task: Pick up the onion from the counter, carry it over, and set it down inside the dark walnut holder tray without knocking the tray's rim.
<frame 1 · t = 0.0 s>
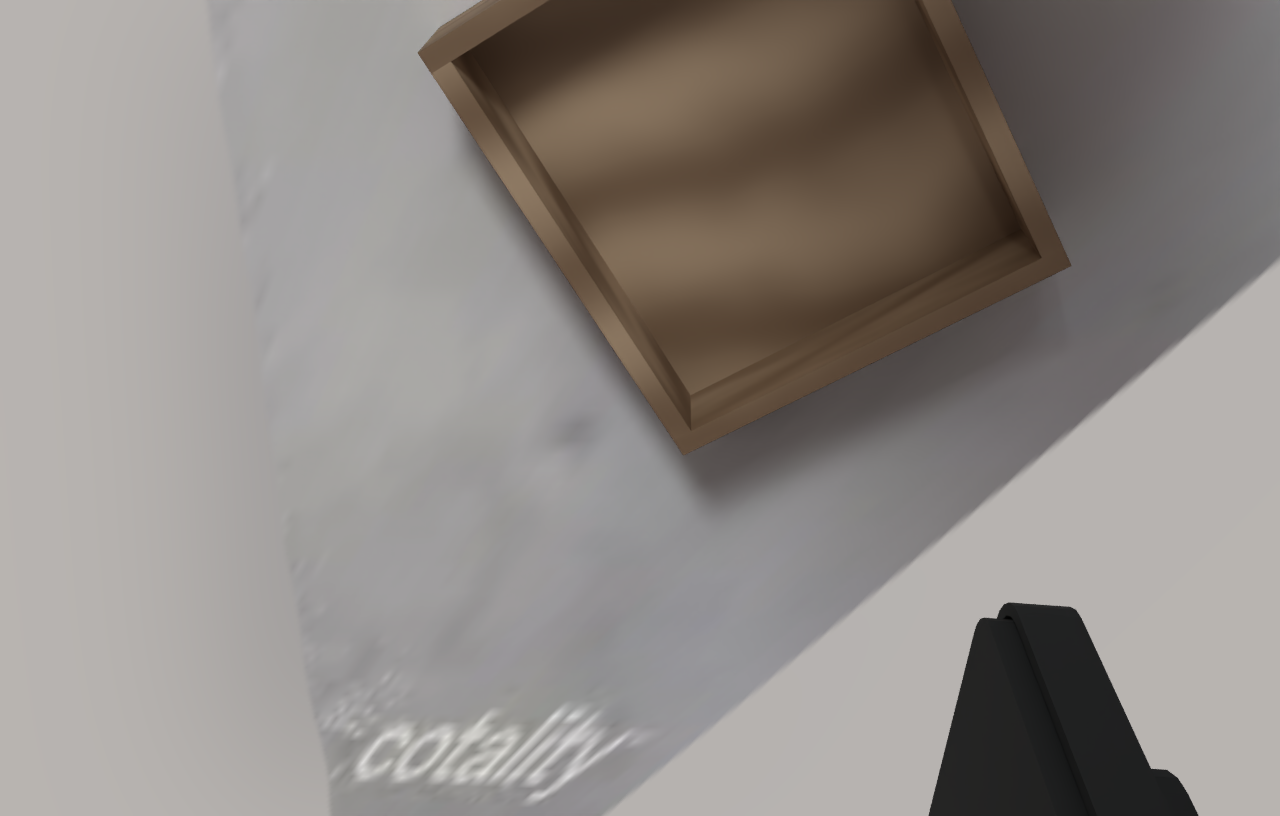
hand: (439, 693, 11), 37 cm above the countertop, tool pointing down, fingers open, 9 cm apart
holder tray: (749, 129, 46), on the countertop
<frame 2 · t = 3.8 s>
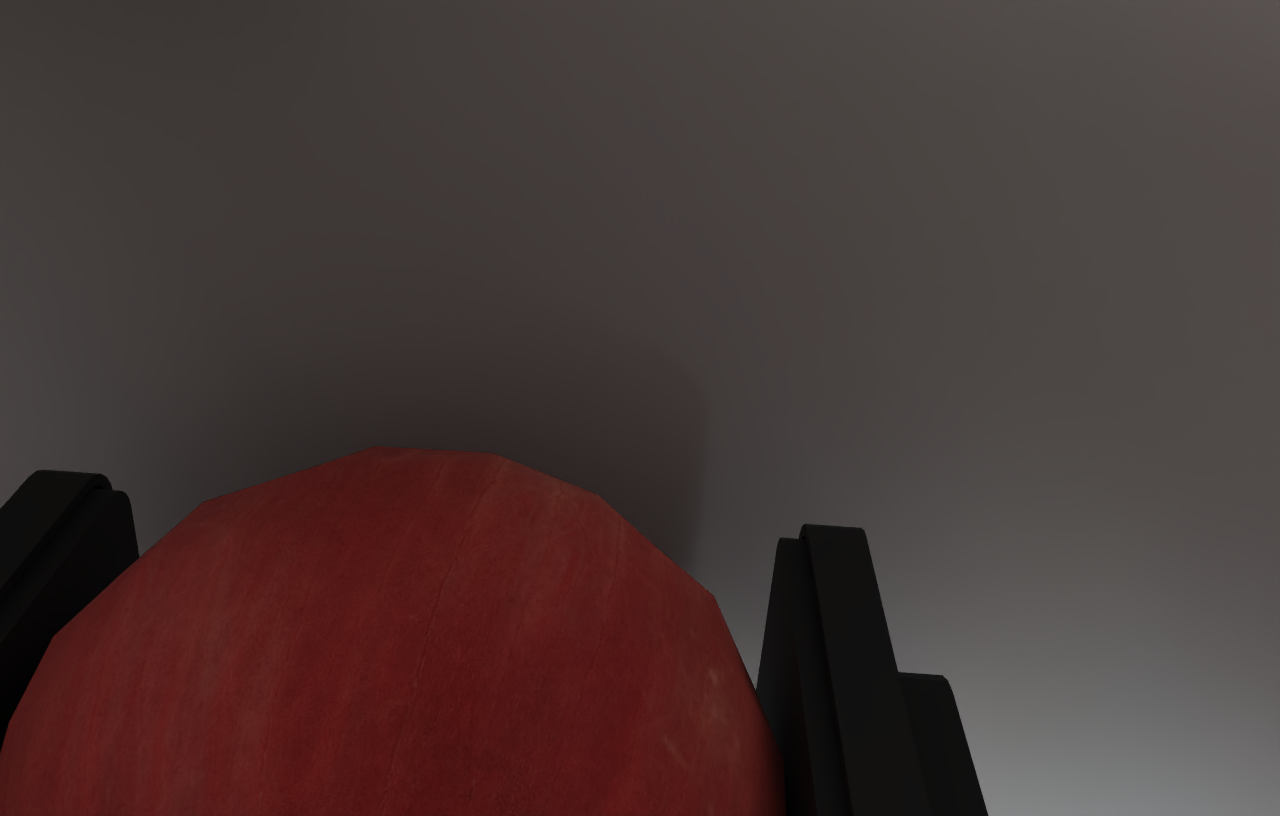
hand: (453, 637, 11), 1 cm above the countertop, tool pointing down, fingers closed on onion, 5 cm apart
onion: (480, 541, 13), on the countertop, touching gripper
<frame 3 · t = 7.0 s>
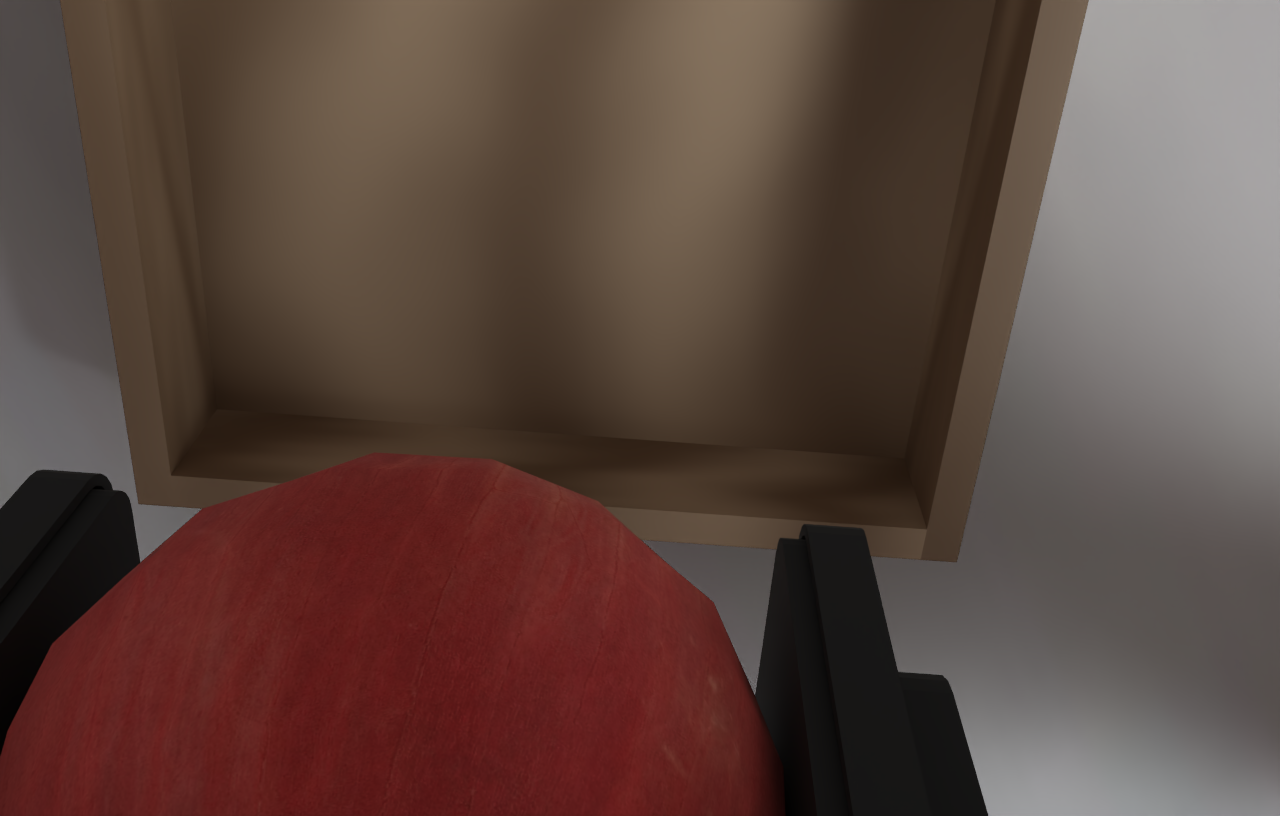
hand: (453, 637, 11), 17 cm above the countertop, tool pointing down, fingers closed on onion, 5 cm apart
holder tray: (577, 121, 27), on the countertop
onion: (479, 546, 13), point 16 cm above the countertop, touching gripper
when the fingers open (4 cm above the countertop, at t = 10.3 s): onion drops 1 cm, resting on holder tray.
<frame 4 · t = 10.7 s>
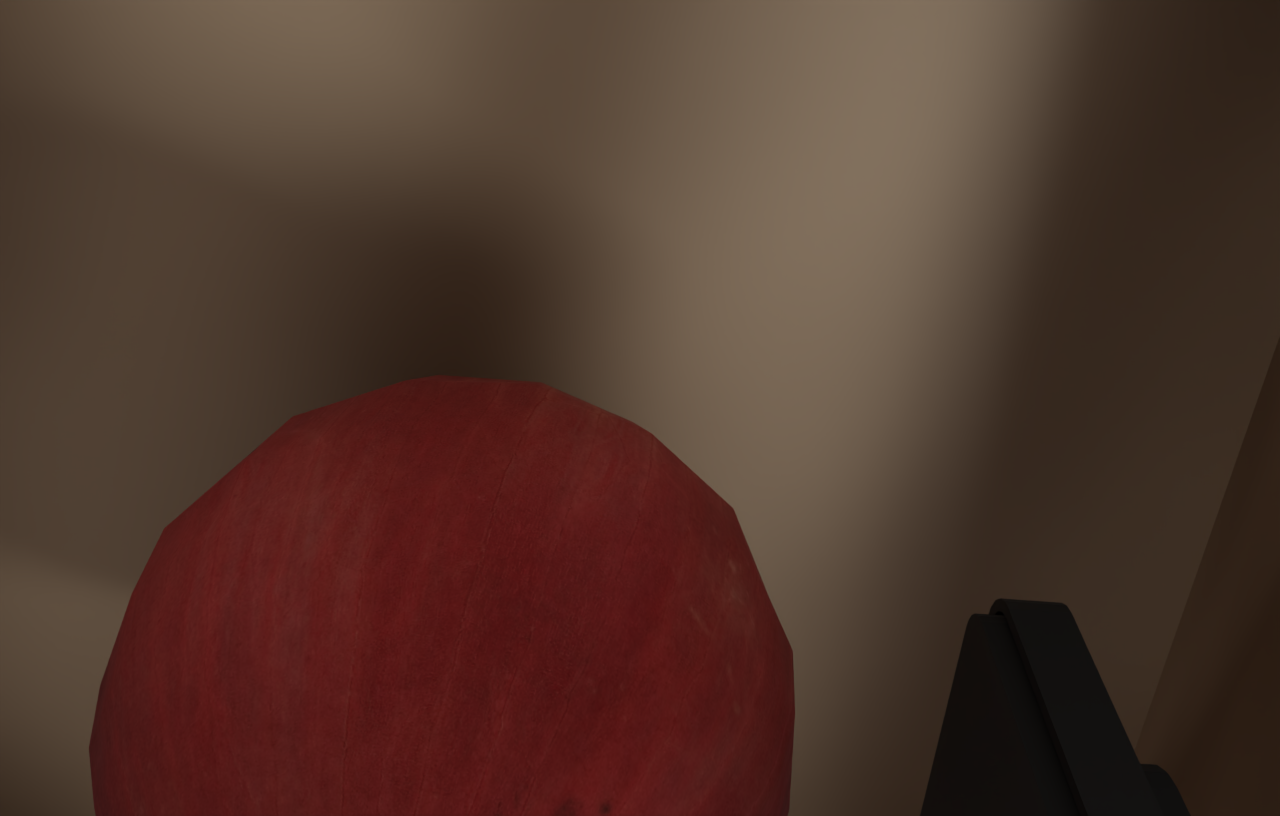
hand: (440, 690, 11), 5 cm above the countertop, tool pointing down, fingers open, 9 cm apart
holder tray: (507, 425, 15), on the countertop
onion: (521, 480, 14), point 1 cm above the countertop, touching holder tray
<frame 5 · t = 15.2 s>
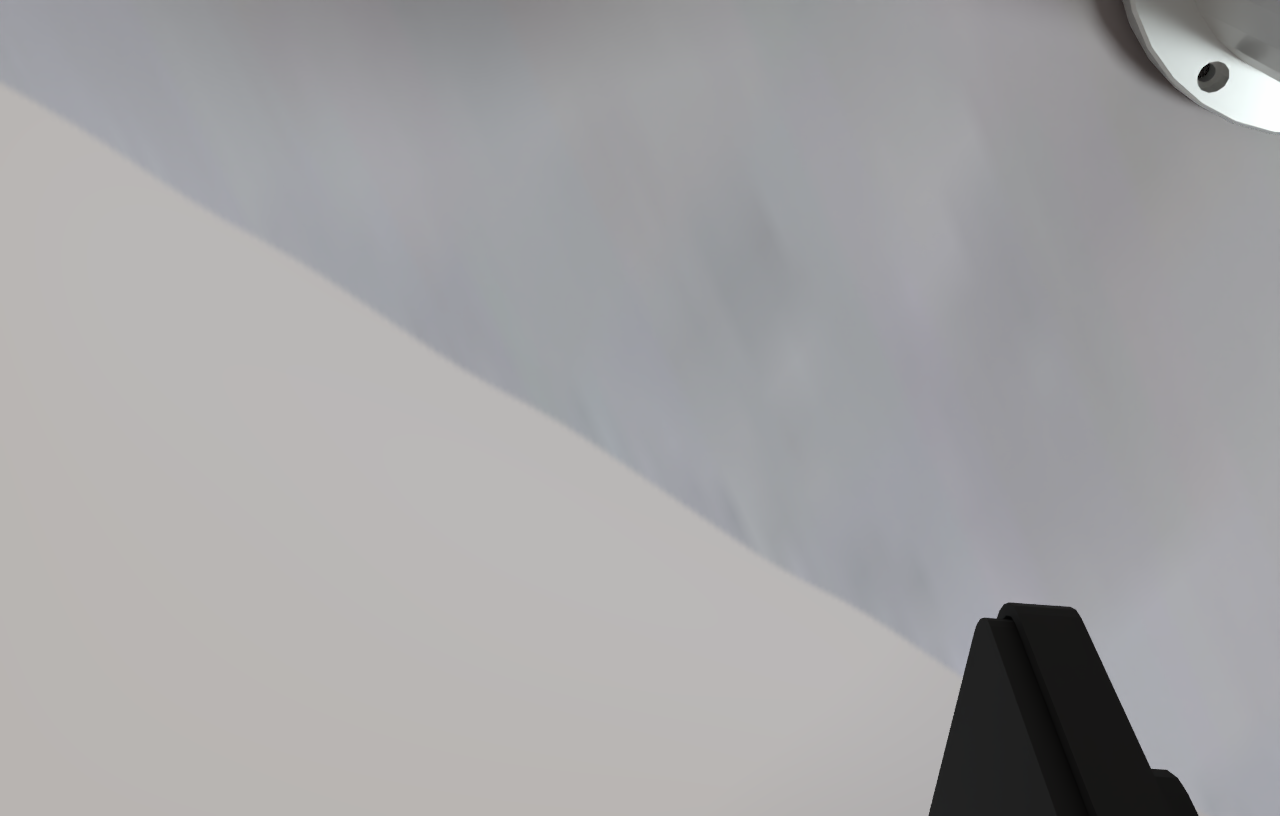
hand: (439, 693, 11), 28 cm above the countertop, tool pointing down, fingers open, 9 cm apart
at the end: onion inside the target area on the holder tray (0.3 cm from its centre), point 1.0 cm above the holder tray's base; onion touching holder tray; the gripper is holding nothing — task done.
